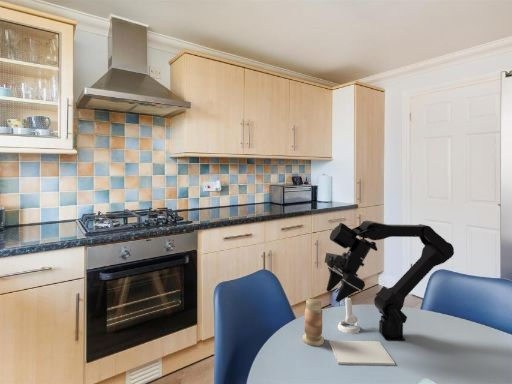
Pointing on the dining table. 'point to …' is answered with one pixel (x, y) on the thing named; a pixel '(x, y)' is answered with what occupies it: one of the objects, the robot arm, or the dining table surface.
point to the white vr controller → (349, 319)
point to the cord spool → (313, 323)
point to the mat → (360, 353)
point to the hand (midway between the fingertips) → (332, 296)
